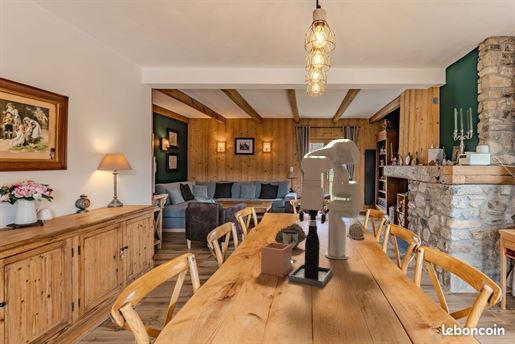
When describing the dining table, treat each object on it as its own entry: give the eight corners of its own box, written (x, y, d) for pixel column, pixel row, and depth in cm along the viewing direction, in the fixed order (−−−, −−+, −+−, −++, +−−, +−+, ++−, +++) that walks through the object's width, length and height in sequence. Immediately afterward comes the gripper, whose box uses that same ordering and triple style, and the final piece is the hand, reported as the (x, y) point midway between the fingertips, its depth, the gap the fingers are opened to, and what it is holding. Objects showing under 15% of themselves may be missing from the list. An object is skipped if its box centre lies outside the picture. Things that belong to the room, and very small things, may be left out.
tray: (301, 268, 148) (301, 263, 148) (332, 274, 141) (332, 268, 141) (288, 280, 132) (288, 275, 132) (322, 287, 125) (322, 281, 125)
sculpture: (362, 234, 226) (362, 221, 226) (365, 240, 210) (366, 225, 210) (345, 233, 229) (345, 220, 229) (347, 239, 212) (348, 224, 212)
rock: (295, 218, 192) (290, 217, 178) (310, 237, 188) (306, 238, 174) (273, 236, 195) (267, 237, 180) (287, 255, 190) (282, 257, 176)
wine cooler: (270, 265, 152) (270, 241, 152) (291, 269, 147) (291, 244, 147) (260, 272, 142) (261, 247, 142) (282, 276, 137) (283, 250, 137)
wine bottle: (302, 272, 140) (304, 207, 139) (316, 272, 140) (318, 207, 140) (306, 277, 134) (308, 209, 133) (320, 277, 134) (322, 209, 133)
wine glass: (296, 263, 156) (297, 234, 156) (281, 262, 157) (281, 233, 157) (298, 259, 164) (298, 231, 163) (283, 258, 165) (283, 230, 165)
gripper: (291, 183, 137) (291, 221, 137) (330, 185, 129) (329, 225, 129) (297, 183, 143) (296, 219, 144) (334, 184, 136) (333, 222, 136)
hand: (312, 222), depth 136 cm, fingers open, 9 cm apart
